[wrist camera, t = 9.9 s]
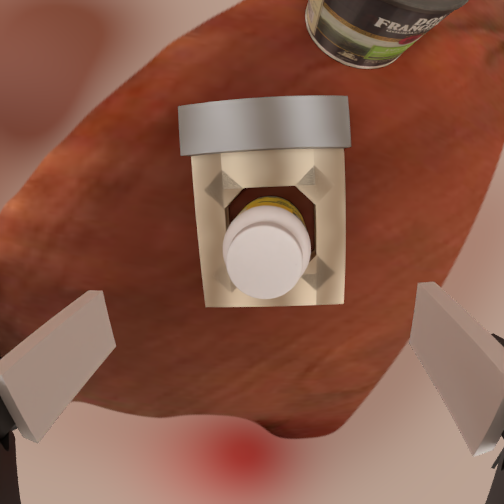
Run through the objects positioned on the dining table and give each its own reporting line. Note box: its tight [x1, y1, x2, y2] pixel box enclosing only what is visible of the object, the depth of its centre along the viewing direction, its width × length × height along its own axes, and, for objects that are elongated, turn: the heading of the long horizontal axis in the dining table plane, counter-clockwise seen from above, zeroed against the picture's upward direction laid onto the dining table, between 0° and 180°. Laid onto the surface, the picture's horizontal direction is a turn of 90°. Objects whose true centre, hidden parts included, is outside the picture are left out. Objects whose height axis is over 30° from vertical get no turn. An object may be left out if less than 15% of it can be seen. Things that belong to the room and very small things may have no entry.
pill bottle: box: [223, 196, 311, 299], centre depth 25 cm, size 6×6×11 cm
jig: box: [178, 96, 351, 307], centre depth 27 cm, size 13×18×5 cm
